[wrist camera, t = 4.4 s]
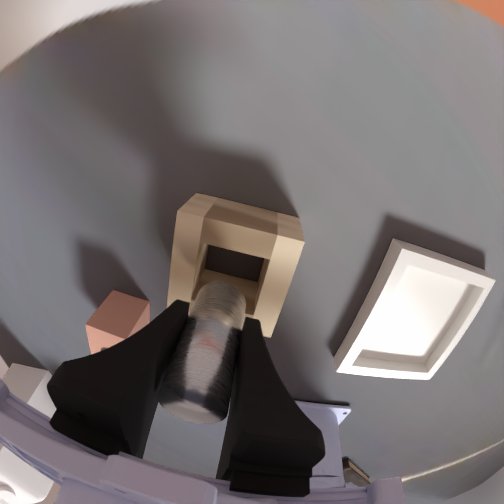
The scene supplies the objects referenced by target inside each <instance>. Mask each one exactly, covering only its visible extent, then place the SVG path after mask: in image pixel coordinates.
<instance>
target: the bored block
mask: <svg viewBox="0 0 504 504" xmlns="http://www.w3.org/2000/svg"><path fill="white" fill-rule="evenodd" d="M304 243H305V241H304V236H303V232H302V227H301V223H300V218H298V217H294V216H290V215H286V214H282V213H279V212H275V211H271V210H267V209H263V208H259V207H255V206H251V205H247V204H242V203H238V202H234V201H230V200H226V199H221V198H217V197H213V196H208V195H204V194H199V193H196V194H195V195H194V196H192V197H191V198H190V199H189V200H188V201H187V202H186V203H185V204H184V205H183V206H182V207H181V208H180V209H179V210H178V211H177V216H176V224H175V232H174V240H173V248H172V257H171V267H170V277H169V288H168V300H167V308H168V307H169V306H170V305H171V304H172V303H173V302H174V301H175V300H177V299H179V300H182V301H186V302H190V306H189V313H188V316H189V314H190V311H191V309H192V306H193V304H194V302H195V299H196V297H197V294H198V292H199V290H200V289H201V288H202V287H203V286H204V285H206V284H208V283H210V282H215V281H221V282H226V283H229V284H232V285H234V286H235V287H237V288H238V289H239V290H240V291H241V292H242V293H243V295H244V297H245V300H246V309H245V315H244V321H245V318H246V317H250V318H254V319H258V320H259V321H260V322H261V328H262V333H263V336H265V337H270V338H271V335H272V333H273V330H274V327H275V325H276V322H277V319H278V317H279V314H280V311H281V309H282V306H283V303H284V300H285V297H286V295H287V292H288V289H289V286H290V283H291V281H292V278H293V275H294V272H295V269H296V266H297V263H298V260H299V257H300V254H301V252H302V249H303V246H304ZM209 245H213V246H217V247H221V248H225V249H229V250H233V251H237V252H241V253H245V254H249V255H253V256H257V257H262V258H264V262H263V265H262V269H261V272H260V276H259V279H258V282H255V281H251V280H247V279H243V278H239V277H235V276H231V275H227V274H223V273H219V272H215V271H211V270H207V269H205V265H206V259H207V253H208V248H209ZM244 321H243V325H244ZM242 328H243V327H242Z"/></svg>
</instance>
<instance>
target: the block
mask: <svg viewBox="0 0 504 504" xmlns="http://www.w3.org/2000/svg"><path fill="white" fill-rule="evenodd" d="M149 320H150V301H147V300H143V299H140V298H137V297H134V296H130V295H127V294H124V293H121V292H118V291H115V290H113V291H112V292H111V293H110V294H109V295H108V297H107V298H106V299H105V300H104V302H103V303H102V304H101V305H100V306H99V308H98V309H97V310H96V311H95V313H94V314H93V315H92V316H91V318H90V319H89V320H88V322H87V323H86V324H85V325H86V330H87V336H88V341H89V346H90V350H91V354H94V353H97V352H100V351H102V350H105V349H107V348H109V347H111V346H113V345H115V344H117V343H119V342H121V341H123V340H125V339H126V338H128V337H130V336H131V335H133V334H134V333H136V332H137V331H139V330H140V329H142V328H143V327H144V326H146V325H147V324H149Z"/></svg>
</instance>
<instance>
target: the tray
mask: <svg viewBox="0 0 504 504" xmlns="http://www.w3.org/2000/svg"><path fill="white" fill-rule="evenodd" d="M494 282H495V279H494V278H493V277H492V276H491V275H490V274H489V273H488V272H486V271H485V270H483V269H481V268H478V267H475V266H473V265H470V264H467V263H465V262H462V261H459V260H456V259H454V258H451V257H448V256H445V255H442V254H440V253H437V252H434V251H431V250H428V249H425V248H422V247H419V246H416V245H413V244H410V243H407V242H404V241H401V240H398V239H395V238H393V239H392V241H391V244H390V246H389V249H388V251H387V253H386V256H385V258H384V260H383V262H382V265H381V267H380V269H379V271H378V273H377V276H376V278H375V280H374V282H373V284H372V286H371V288H370V290H369V292H368V294H367V296H366V298H365V300H364V302H363V304H362V306H361V308H360V310H359V312H358V314H357V316H356V318H355V320H354V322H353V324H352V326H351V327H350V329H349V331H348V333H347V335H346V336H345V338H344V340H343V342H342V344H341V345H340V347H339V349H338V351H337V352H336V354H335V356H334V363H335V369H336V372H340V373H348V374H357V375H366V376H377V377H388V378H403V379H422V380H430V378H431V377H432V376H433V375H434V374H435V372H436V371H437V370H438V368H439V367H440V366H441V365H442V363H443V362H444V361H445V359H446V358H447V357H448V355H449V354H450V353H451V351H452V350H453V349H454V347H455V346H456V344H457V343H458V342H459V340H460V339H461V337H462V336H463V334H464V333H465V331H466V330H467V328H468V327H469V325H470V324H471V322H472V320H473V319H474V317H475V316H476V314H477V312H478V311H479V309H480V307H481V306H482V304H483V302H484V301H485V299H486V297H487V295H488V293H489V292H490V290H491V288H492V286H493V284H494Z"/></svg>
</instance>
